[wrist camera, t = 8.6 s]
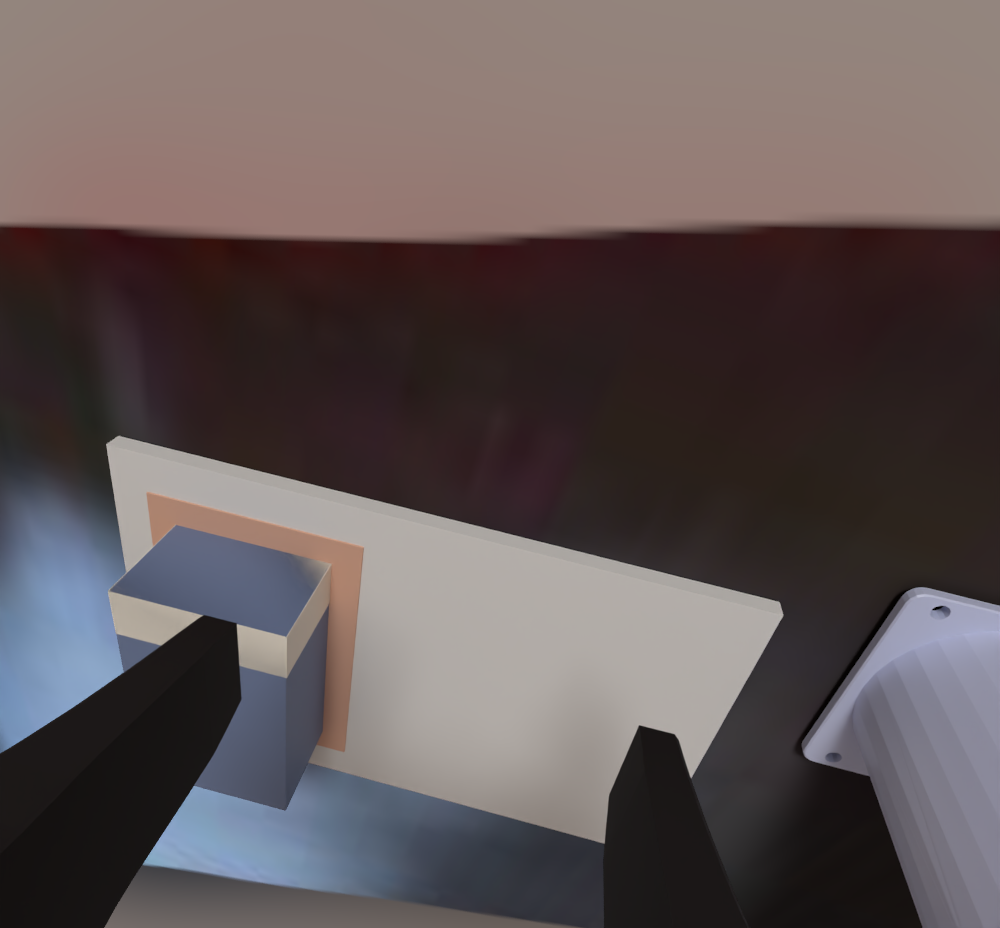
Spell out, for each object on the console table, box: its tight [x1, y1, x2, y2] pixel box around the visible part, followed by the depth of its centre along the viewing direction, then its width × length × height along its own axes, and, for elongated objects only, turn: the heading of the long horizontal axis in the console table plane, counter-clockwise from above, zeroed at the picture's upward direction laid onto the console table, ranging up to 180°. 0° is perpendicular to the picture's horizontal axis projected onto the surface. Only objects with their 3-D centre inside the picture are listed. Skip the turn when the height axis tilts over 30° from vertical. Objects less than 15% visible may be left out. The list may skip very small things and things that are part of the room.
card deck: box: [108, 525, 332, 810], centre depth 23 cm, size 9×6×3 cm, turn 169°
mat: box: [106, 436, 783, 844], centre depth 24 cm, size 22×14×1 cm, turn 79°
